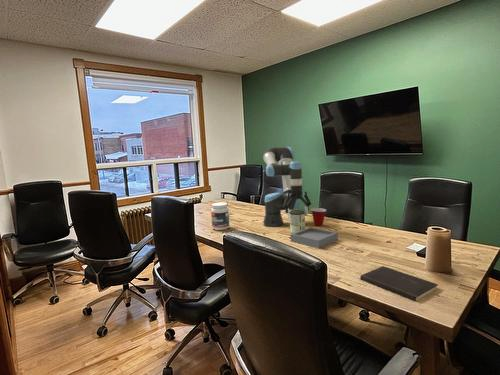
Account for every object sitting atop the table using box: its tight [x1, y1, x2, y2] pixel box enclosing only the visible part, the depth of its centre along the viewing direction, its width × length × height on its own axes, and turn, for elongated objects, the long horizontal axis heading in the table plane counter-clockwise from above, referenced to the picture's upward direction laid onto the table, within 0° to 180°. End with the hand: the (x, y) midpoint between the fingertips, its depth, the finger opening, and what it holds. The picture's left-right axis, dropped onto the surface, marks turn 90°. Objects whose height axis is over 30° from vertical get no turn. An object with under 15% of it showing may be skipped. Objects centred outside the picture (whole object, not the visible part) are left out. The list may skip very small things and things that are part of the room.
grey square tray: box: [289, 226, 339, 249], centre depth 177 cm, size 20×20×4 cm
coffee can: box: [289, 209, 306, 234], centre depth 195 cm, size 10×10×14 cm
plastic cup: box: [310, 207, 327, 227], centre depth 210 cm, size 11×11×12 cm
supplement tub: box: [210, 202, 230, 231], centre depth 214 cm, size 13×13×18 cm
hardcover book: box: [359, 265, 439, 303], centre depth 117 cm, size 16×23×2 cm
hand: (297, 216), depth 195 cm, fingers open, 13 cm apart
